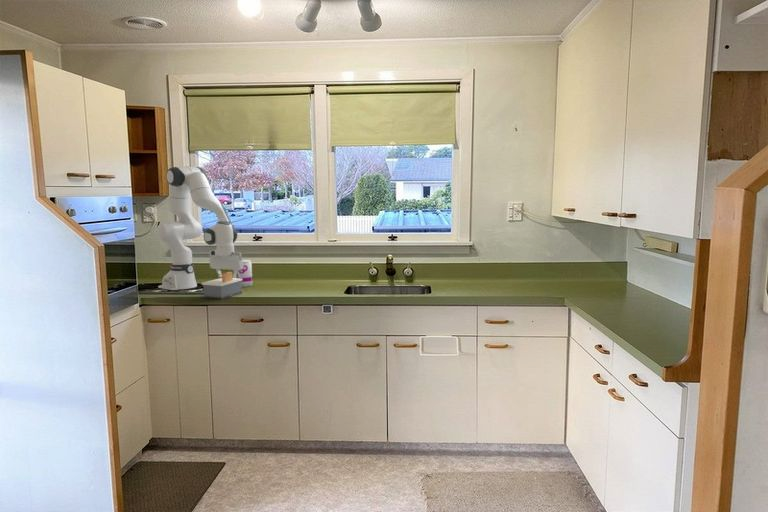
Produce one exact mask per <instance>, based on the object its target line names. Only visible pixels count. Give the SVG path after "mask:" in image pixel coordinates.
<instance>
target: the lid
mask: <svg viewBox="0 0 768 512" xmlns="http://www.w3.org/2000/svg"><path fill="white" fill-rule="evenodd" d="M221 273H222V277H218V278H216V279H212V280H207V281H203V282H201V286H203V285H212V286H224V285H227V284H231V283H235V282H238V281H242V280H243V279H241V278H238V277H236V278H232V275H233V271H227V272H221Z"/></svg>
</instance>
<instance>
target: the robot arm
mask: <svg viewBox="0 0 768 512" xmlns="http://www.w3.org/2000/svg"><path fill="white" fill-rule="evenodd" d="M166 180H167V183H168V185H169V188H168V208H169V209H168V210H169V212H171V214H173V215H175V216H177V218H178V220H175V221H166V222H162V223H160V224H159V225H158V226H157V229H156V234H157V237H158V238H159V240H161V241H163V242H164V243H165V244H166V245H167V246H168V249H169V251H170V255H171V263H172V264H169V268H170V269H169V271H168V272H167V273H166V274H165V275H163V277H162V281H161V283H162V284H160V285H158V286H157V287H158V289H164V290H170V291H178V290H188V289H193V288H197V287H198V283H197V281H196V276H195V275H196V274H195V272H194V269H195V264H194V262H193V251H192V250H191V248H190V247H188V246H186V245H185V244H184V243H183V241H184V240H194V239H196V238H199V237H201V235H202V233H203V240H204V242H205V243H206V244H207V245H209V246H216V249H213V250H210V251H209V268H210V269H212V270H213V269H214V270H216V273H217V274H218V278H222V273H223V272H222V270H231V271H232V278H237V275H238V270H241V269H243V268H244V265H243V260H244V259H243V255H242V253H241V252H238V251H237V252H235V242H236V241H237V239H238V231H237V230H236V229H237V228H235V227H234V225H233V224H232V222H231V220H230V217H229V214H228V213H227V210H226V209H225V207H224V205H223V203H222V201H221V200H220V199H218V198H217V197H216V196H215V194H214V193H213V190H212V188H211V185H210V183H209V180H208V175H207V172H206V170H205V169H204V168H202V167H199V166H188V165H187V166H178V167H177V166H173V167H170V168H168V169H167V171H166ZM190 197H191V198H190ZM190 199H191V200H192V202H193V203H194V205H196V207H198V208H201V209H205V210H208V211H210V212H212V213H214V215H215V216H216V218H217V219H218V221H216V223H215V224H214V225H213V226H211V227H207V228H206V229H204V232H203V227H202V224H201V223H200V222H199V221H198V220H196V219H195V218H194V216H193V214H192V211H191V202H190V201H191V200H190Z"/></svg>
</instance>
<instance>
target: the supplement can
mask: <svg viewBox="0 0 768 512" xmlns="http://www.w3.org/2000/svg"><path fill="white" fill-rule="evenodd" d="M243 265H244V268H243V269H241V270H238V272H237V278H241V279H243V280H242V281H241V285H242V288H244V287H251V286H253V284H254V281H253V280H254V279H253V265H252V261H251V259H243Z"/></svg>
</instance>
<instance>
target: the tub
mask: <svg viewBox="0 0 768 512" xmlns="http://www.w3.org/2000/svg"><path fill="white" fill-rule="evenodd" d="M202 287H203V298H205V299H216V300H217V299H218V300H224V299H226V298H230V297H232V296H231V295H234V296H236V295H235V294H237V295H239V293H240V294H243V287H242V285H241V281H238V282H235V283H231V284H227V285H224V286H212V285H202ZM229 296H230V297H229Z"/></svg>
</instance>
